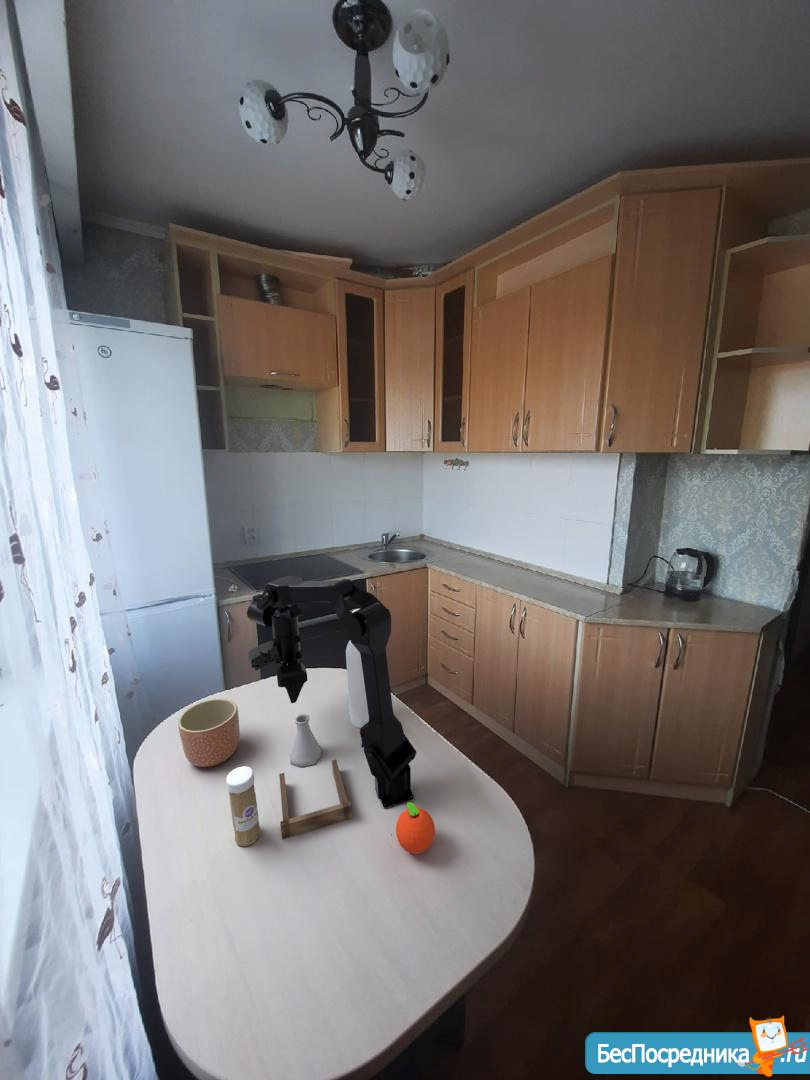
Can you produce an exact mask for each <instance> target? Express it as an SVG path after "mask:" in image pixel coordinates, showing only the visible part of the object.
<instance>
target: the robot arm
mask: <svg viewBox="0 0 810 1080" xmlns="http://www.w3.org/2000/svg"><path fill="white" fill-rule="evenodd" d="M346 600H349V601H351V602H353V603H355V604H357V605H359V606H361V607H360V608H358V609H359V610H357V611H355V612H353V611H351V610H350V609H348V607H347V603H346ZM294 603H330V604H331V605H332V606H333V607H334V610H335V611H334V612H335V614H336V619H337V621H338V623H339V624H340V625H341V626H342V627H343V628H344V629H345V630H346V632H347V633H348V636H349V639H350V640H351V643H352V644H353V645H354V646H355V648H356V649H357V650H358V651H359V652H360V655H361V662H362V670H363V677H364V685H365V692H366V699H367V707H368V714H369V721H368V722H367V723H366V724H365V725H364V726H363V727H361V728H359V736H360V739H361V744H360V747H361V748H363V752H364V756H365V759H366V761H367V764H368V767H369V771H370V774H371V775H372V776H373V777H374V786H375V787H374V790H375V794H376V796H377V798H378V799H379V800H380V802H381V805H382V807H383V808H384V809H388V808H390V807H393V806H397V805H400V804H403V803H408V802H410V801H414V800H415V795H414V792H413V791H412V779H411V777H412V775H411V774H412V773H411V772H412V770H411V765H410V763H411V762H412V761H414V759H415V758H416V756H417V753H418V752H417V750H416V749H415V747H414V746H413V744H412V743H411V741H410V740H409V739H408V737H407V735H406V734H405V732H404V727H403V724H402V722H401V721H400V720H399V719H398V718H397V716H396V715H395V714H394V709H393V708H394V707H393V698H392V691H391V683H390V674H389V667H388V658H387V645H388V643H389V639H390V636H391V634H392V633H391V632H392V615H391V611H390V609H389V608H387V607H386V605H384V604H383V603H382V602H381V601H380V599H378V598H377V597H376V595H374V594H372V593H371V592H369V591H366V590H365V589H363V588H360V587H358V585H356V584H355V582H353V580H351V579H348V578H343V579H340V580H339V579H338V580H337V579H336V580H335V579H332V580H303V579H302V578H300V576H293V575H288V576H285V577H282V578H281V577H280V578H279V579H275V580H272V581H270V582H267V583H265V585H264V590H263V592H262V594H261V593H258V594H256V595H252V601H251V602H250V604H249V605H248V608H247V611H246V616H247V618H248V620H249V621H252V622H253V623H255V624H258V625H261V626H264V627H267V628H272V635H271V640H269V641H267V642H263V643H262V644H259V645H257V646H256V647H254V648H251V649H250V650H249V651H248V660H249V662H250V664H251V668H253V669H254V670H255V671H259V670H261V669H263V668H265V667H267V666H269V664H271V663H273V662H274V664H275V665H277V664H281V666H279V667H278V668H277V669H276V671H275V672H276V681H277V686H278V688H285V690H286V693H287V695H288V699H289V702H290V704H295V703H297V701H298V698H299V696H300V694H301V691H302V688H303V687H304V685H305V683H307V682H308V673H307V672H308V671H307V669H306V668H307V667H306V665H305V664H304V663H301V662H298V660H299V659H302V658H303V655H302V651H301V636H300V630H299V619H298V618H299V617H300V616H303V615H304V611H303V610H302V608H300V607H299V606H298V605H297V604H294ZM291 604H293V605H291ZM352 612H353V613H352ZM350 640H349V641H350Z"/></svg>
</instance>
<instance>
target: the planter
mask: <svg viewBox="0 0 810 1080" xmlns="http://www.w3.org/2000/svg"><path fill="white" fill-rule="evenodd" d="M177 723H178V724H177V726H178V733H179V737H180V741H181V745H182V750H183V753H184V756H185V758H186V760H187V761H188V762H189V763H190V764H191V765H193V766H196V767H200V768H207V767H214V766H218V765H219V764H222V763H224V762H225V761H226V760H228V759H229V758H231V756H232V755H234V753H235V752H236V750H237V749H238V747H239V745H240V740H241V731H240V719H239V710H238V706H237V703H236V702H235V701H234V700H232V699H229V698H226V697H223V698H222V697H216V698H210V699H206V700H202V701H200V702H197V703H196V704H194V705H191V706H189V707H188V708H187V709H186V710H184V712H182V714H181V715H180V716H179V717H178V722H177Z"/></svg>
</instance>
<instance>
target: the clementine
mask: <svg viewBox="0 0 810 1080" xmlns="http://www.w3.org/2000/svg"><path fill="white" fill-rule="evenodd" d="M405 803H406V806H407V808H406V809H405V810H404V811H403V812H401V813H400V816H399V817H398V819H397V821H396V824H395V825H396V827H395V835H396V839H397V842H398V843H399V845H400V846H401V848H402V849H403V850H404V851H405V852H407V853H409V854H413V855H418V854H422V853H424V852H426V851H427V850H428V849H429V848H430V847H431V846H432V843H433V842H434V841H435V840H434V839H435V835H436V828H435V823H434V822H435V821H434V819H433V817H432V816H431V815H430V813H429V812H428V811H427V810H426V809H424V808H423V807H419V806H416V805H415V804H414V803H413V802H410V801H408V802H405Z"/></svg>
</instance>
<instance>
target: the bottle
mask: <svg viewBox="0 0 810 1080" xmlns="http://www.w3.org/2000/svg"><path fill="white" fill-rule="evenodd" d="M359 609H360V608H356V609H353V610H352V611H351V613H353V612H355V611H357V610H359ZM345 659H346V673H347V675H346V676H347V677H346V678H347V691H348V704H349V705H348V706H349V707H348V708H349V709H348V713H349V720H350V724H351V725H352V726H353V727H355V728H357V729H360V728H361V727H363V726H364V725H365V724H366V723H367V722H368V721H369V714H368V707H367V699H366V692H365V685H364V677H363V670H362V662H361V655H360V652H359V651H358V650H357V649H356V648H355V646H354V645H353V644H352V643H351V640H348V643H347V645H346V649H345Z"/></svg>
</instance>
